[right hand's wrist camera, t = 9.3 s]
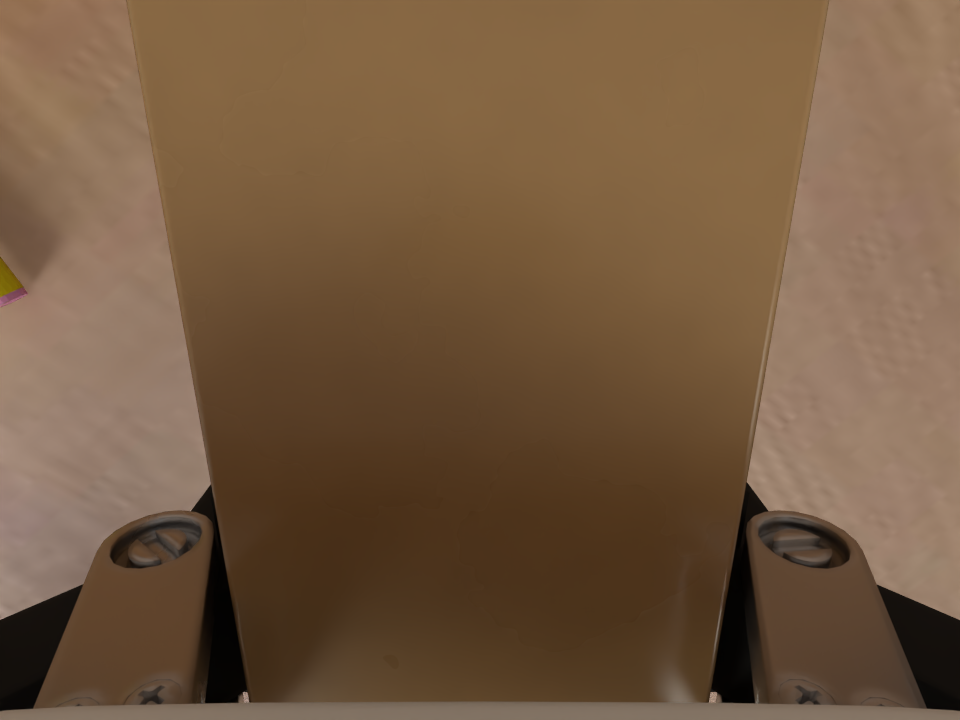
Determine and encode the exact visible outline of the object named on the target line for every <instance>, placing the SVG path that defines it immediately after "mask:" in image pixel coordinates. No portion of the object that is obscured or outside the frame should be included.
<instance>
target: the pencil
mask: <svg viewBox="0 0 960 720" xmlns="http://www.w3.org/2000/svg"><path fill="white" fill-rule="evenodd" d="M27 294H28V293H27V292H26V290H25V289H24V287H23V286H22V284H21V283H20V282H19V281H18V279H17V278H16V277H15V275H14V274H13V273H12V271H11V270H10V269H9V268H8V266H7V265H6V264H5V262H4V261H3V260H2V259H1V257H0V307H2V306H5V305H7V304H10V303H12V302H14V301H16V300H18V299H20V298H22V297H24V296H26V295H27Z"/></svg>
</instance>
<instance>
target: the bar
mask: <svg viewBox="0 0 960 720" xmlns="http://www.w3.org/2000/svg"><path fill="white" fill-rule="evenodd" d="M126 2H127V8H128V14H129V20H130V25H131V31H132V37H133V42H134V48H135V54H136V59H137V65H138V71H139V76H140V82H141V88H142V93H143V99H144V105H145V111H146V116H147V122H148V128H149V133H150V139H151V145H152V150H153V156H154V162H155V167H156V173H157V179H158V185H159V190H160V196H161V202H162V207H163V213H164V219H165V224H166V230H167V236H168V241H169V247H170V253H171V259H172V264H173V270H174V276H175V281H176V287H177V293H178V298H179V304H180V310H181V315H182V321H183V327H184V332H185V338H186V344H187V350H188V355H189V361H190V367H191V372H192V378H193V384H194V389H195V395H196V401H197V406H198V412H199V418H200V424H201V429H202V435H203V441H204V446H205V452H206V458H207V463H208V469H209V475H210V480H211V486H212V492H213V498H214V503H215V509H216V515H217V520H218V526H219V532H220V537H221V543H222V549H223V554H224V560H225V566H226V571H227V577H228V583H229V589H230V594H231V600H232V606H233V611H234V617H235V623H236V628H237V634H238V640H239V645H240V651H241V657H242V663H243V668H244V674H245V680H246V685H247V691H248V697H249V702H250V703H283V702H677V703H709V698H710V692H711V686H712V680H713V674H714V668H715V663H716V657H717V651H718V645H719V639H720V634H721V628H722V622H723V616H724V610H725V604H726V599H727V593H728V587H729V581H730V575H731V569H732V564H733V558H734V552H735V546H736V540H737V534H738V529H739V523H740V517H741V511H742V505H743V499H744V494H745V488H746V482H747V476H748V470H749V464H750V459H751V453H752V447H753V441H754V435H755V429H756V424H757V418H758V412H759V406H760V400H761V394H762V389H763V383H764V377H765V371H766V365H767V359H768V354H769V348H770V342H771V336H772V330H773V325H774V319H775V313H776V307H777V301H778V295H779V290H780V284H781V278H782V272H783V266H784V260H785V255H786V249H787V243H788V237H789V231H790V225H791V220H792V214H793V208H794V202H795V196H796V190H797V185H798V179H799V173H800V167H801V161H802V155H803V150H804V144H805V138H806V132H807V126H808V120H809V115H810V109H811V103H812V97H813V91H814V85H815V80H816V74H817V68H818V62H819V56H820V50H821V45H822V39H823V33H824V27H825V21H826V16H827V10H828V4H829V0H126Z"/></svg>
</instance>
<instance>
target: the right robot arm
mask: <svg viewBox="0 0 960 720" xmlns="http://www.w3.org/2000/svg"><path fill="white" fill-rule="evenodd" d="M244 691H245V692H248V691H247V685H246V680H245V674H244V668H243V663H242V657H241V651H240V645H239V640H238V634H237V628H236V623H235V617H234V611H233V606H232V600H231V594H230V589H229V583H228V577H227V571H226V566H225V560H224V554H223V549H222V543H221V537H220V532H219V526H218V520H217V515H216V509H215V503H214V498H213V492H212V486H211V485H210V486H209V488H208V489H207V490H206V492H205V493H204V494H203V496H202V497H201V498H200V500H199V501H198V502H197V504H196V505H195V506H194V508H193V509H192V510H191V511H182V510H181V511H168V512H162V513H157V514H153V515H149V516H146V517H143V518H141V519H138V520H135V521H133V522H130V523H129V524H127V525H125V526H123V527H122V528H120V529H118V530H116V531H115V532H114V533H113V534H111V535H110V536H109V537H108V538H107V539H105V540H104V542H103V543H102V545H101V546H100V548H99V549H98V551H97V553H96V555H95V558H94V560H93V562H92V565H91V567H90V570H89V572H88V575H87V577H86V580H85V582H84V584H83V585H80V586H78V587H76V588H74V589H71V590H69V591H67V592H64V593H62V594H60V595H57V596H55V597H53V598H50V599H48V600H46V601H43V602H41V603H39V604H36V605H34V606H32V607H29V608H27V609H25V610H22V611H20V612H18V613H15V614H13V615H11V616H9V617H6V618H4V619H2V620H0V720H960V620H958V619H956V618H953V617H951V616H949V615H946V614H944V613H942V612H939V611H937V610H935V609H933V608H930V607H928V606H926V605H923V604H921V603H919V602H916V601H914V600H912V599H909V598H907V597H905V596H902V595H900V594H898V593H895V592H893V591H891V590H888V589H886V588H884V587H881V586H879V585H877V584H876V582H875V580H874V577H873V575H872V572H871V570H870V567H869V565H868V562H867V560H866V558H865V555H864V553H863V551H862V549H861V548H860V546H859V545H858V543H857V542H856V540H855V539H853V538H852V537H851V536H850V535H849V534H847V533H846V532H845V531H844V530H842V529H840V528H838V527H837V526H835V525H833V524H831V523H830V522H827V521H825V520H822V519H819V518H817V517H814V516H811V515H807V514H803V513H798V512H792V511H779V510H778V511H768V510H767V508H766V507H765V506H764V504H763V503H762V502H761V500H760V499H759V498H758V496H757V495H756V494H755V492H754V491H753V490H752V488H751V487H750V486H749V484H748V483H747V482H746V488H745V494H744V499H743V505H742V511H741V517H740V523H739V529H738V534H737V540H736V546H735V552H734V558H733V564H732V569H731V575H730V581H729V587H728V593H727V599H726V604H725V610H724V616H723V622H722V628H721V634H720V639H719V645H718V651H717V657H716V663H715V668H714V674H713V680H712V686H711V692H717V698H716V703H677V702H283V703H244V698H243V692H244Z"/></svg>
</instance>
